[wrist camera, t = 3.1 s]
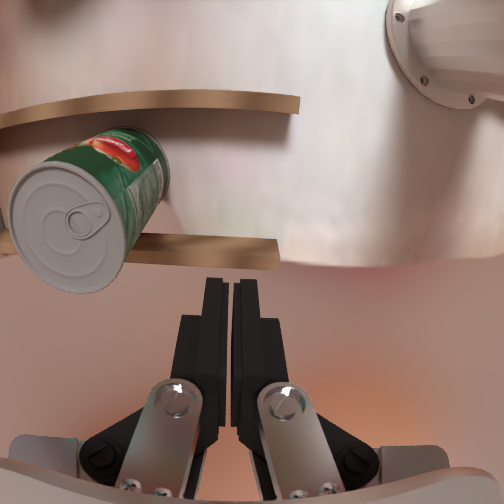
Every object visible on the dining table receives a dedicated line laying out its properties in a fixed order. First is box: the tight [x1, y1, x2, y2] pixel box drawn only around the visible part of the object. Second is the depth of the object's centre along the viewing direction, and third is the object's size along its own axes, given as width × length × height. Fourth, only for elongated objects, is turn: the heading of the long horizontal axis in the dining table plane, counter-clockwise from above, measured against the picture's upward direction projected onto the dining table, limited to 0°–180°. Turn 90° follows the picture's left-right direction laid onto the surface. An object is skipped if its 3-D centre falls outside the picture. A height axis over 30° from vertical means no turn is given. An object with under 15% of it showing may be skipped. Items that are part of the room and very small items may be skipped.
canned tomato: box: [7, 127, 169, 294], centre depth 18 cm, size 8×8×11 cm
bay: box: [0, 90, 300, 270], centre depth 20 cm, size 30×13×6 cm, turn 86°
